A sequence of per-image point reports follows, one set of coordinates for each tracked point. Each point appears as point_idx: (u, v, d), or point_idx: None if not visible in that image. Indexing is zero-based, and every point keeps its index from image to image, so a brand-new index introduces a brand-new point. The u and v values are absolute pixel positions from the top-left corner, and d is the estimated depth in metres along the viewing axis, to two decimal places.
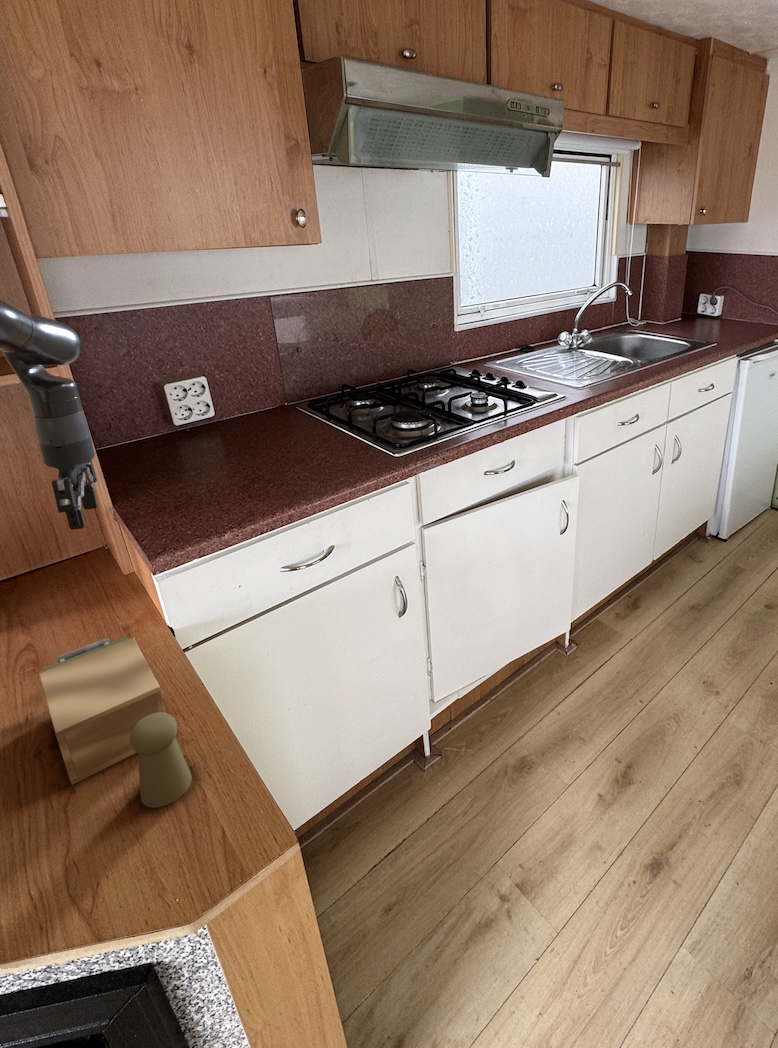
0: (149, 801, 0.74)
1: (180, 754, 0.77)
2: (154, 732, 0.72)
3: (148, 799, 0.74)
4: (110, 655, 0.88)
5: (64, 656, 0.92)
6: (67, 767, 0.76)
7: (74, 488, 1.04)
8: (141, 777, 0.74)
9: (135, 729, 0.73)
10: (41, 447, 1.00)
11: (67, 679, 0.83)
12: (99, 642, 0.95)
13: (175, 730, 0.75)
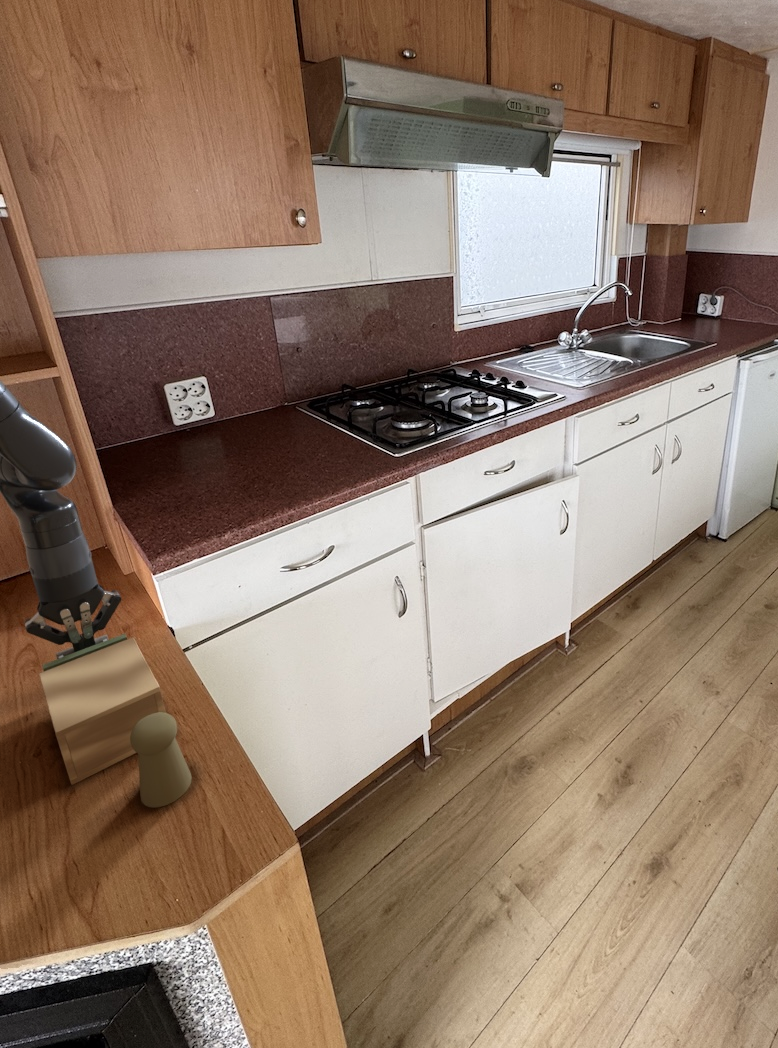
0: (149, 801, 0.74)
1: (180, 754, 0.77)
2: (154, 732, 0.72)
3: (148, 799, 0.74)
4: (110, 655, 0.88)
5: (63, 653, 0.93)
6: (67, 767, 0.76)
7: (54, 621, 0.89)
8: (141, 777, 0.74)
9: (135, 729, 0.73)
10: None
11: (67, 679, 0.83)
12: (98, 639, 0.96)
13: (175, 730, 0.75)
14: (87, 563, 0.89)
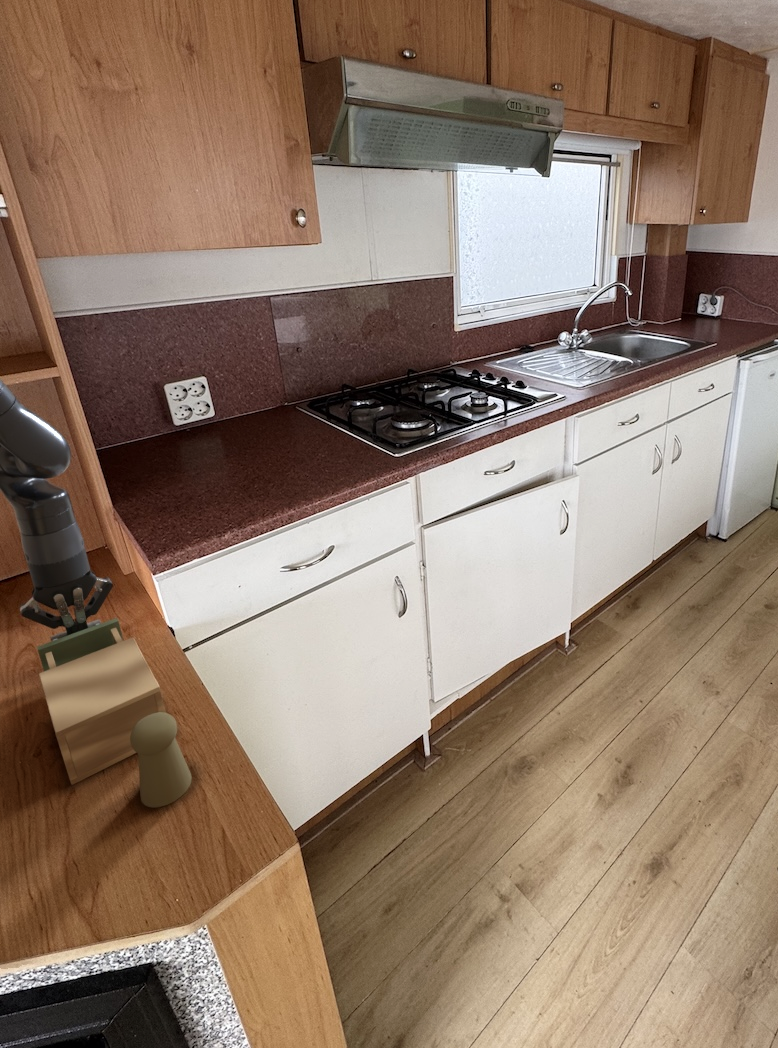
0: (149, 801, 0.74)
1: (180, 754, 0.77)
2: (154, 732, 0.72)
3: (148, 799, 0.74)
4: (110, 655, 0.88)
5: (57, 636, 0.97)
6: (67, 767, 0.76)
7: (48, 606, 0.93)
8: (141, 777, 0.74)
9: (135, 729, 0.73)
10: None
11: (67, 679, 0.83)
12: (91, 623, 1.00)
13: (175, 730, 0.75)
14: (80, 550, 0.92)
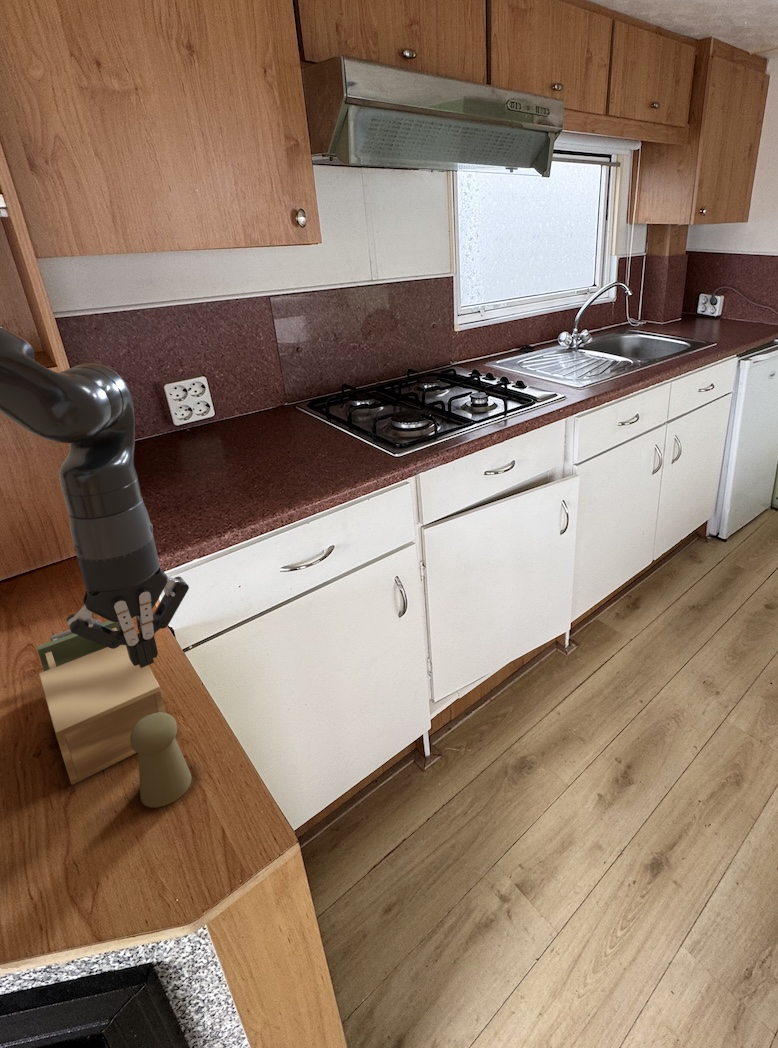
0: (149, 801, 0.74)
1: (180, 754, 0.77)
2: (154, 732, 0.72)
3: (148, 799, 0.74)
4: (110, 655, 0.88)
5: (57, 636, 0.97)
6: (67, 767, 0.76)
7: None
8: (141, 777, 0.74)
9: (135, 729, 0.73)
10: None
11: (67, 679, 0.83)
12: None
13: (175, 730, 0.75)
14: (149, 539, 0.67)
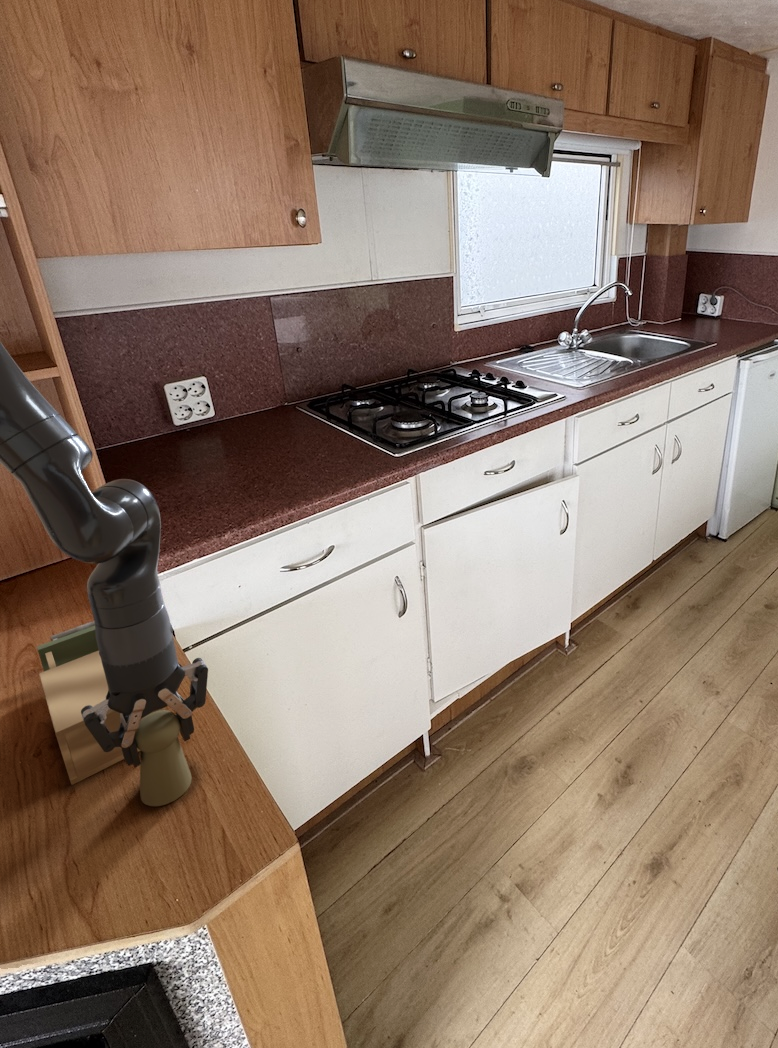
0: (149, 800, 0.74)
1: (182, 753, 0.77)
2: (158, 730, 0.73)
3: (148, 798, 0.74)
4: None
5: (57, 636, 0.97)
6: (67, 767, 0.76)
7: (126, 714, 0.71)
8: (142, 775, 0.74)
9: (139, 725, 0.73)
10: None
11: (67, 679, 0.83)
12: (91, 623, 1.00)
13: (178, 728, 0.75)
14: (169, 641, 0.70)
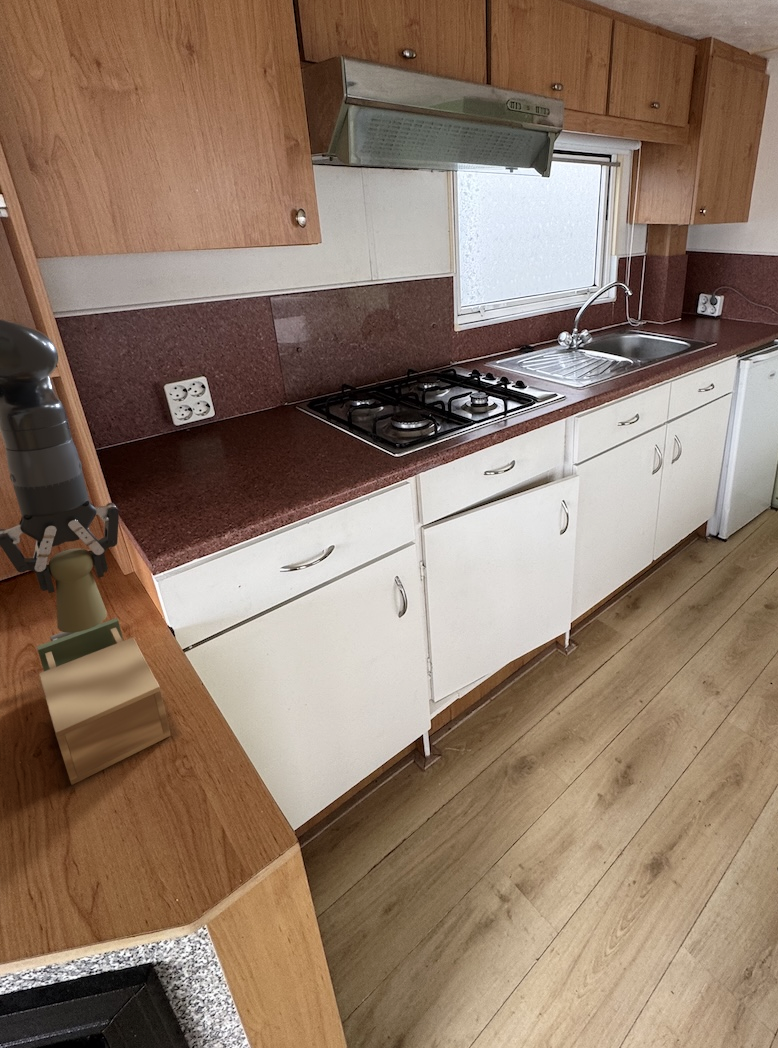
0: (64, 626, 0.82)
1: (96, 589, 0.84)
2: (70, 559, 0.80)
3: (63, 624, 0.82)
4: (110, 655, 0.88)
5: (57, 636, 0.97)
6: (67, 767, 0.76)
7: (38, 541, 0.78)
8: (57, 604, 0.82)
9: (54, 557, 0.81)
10: None
11: (67, 679, 0.83)
12: None
13: (91, 563, 0.83)
14: (77, 474, 0.78)
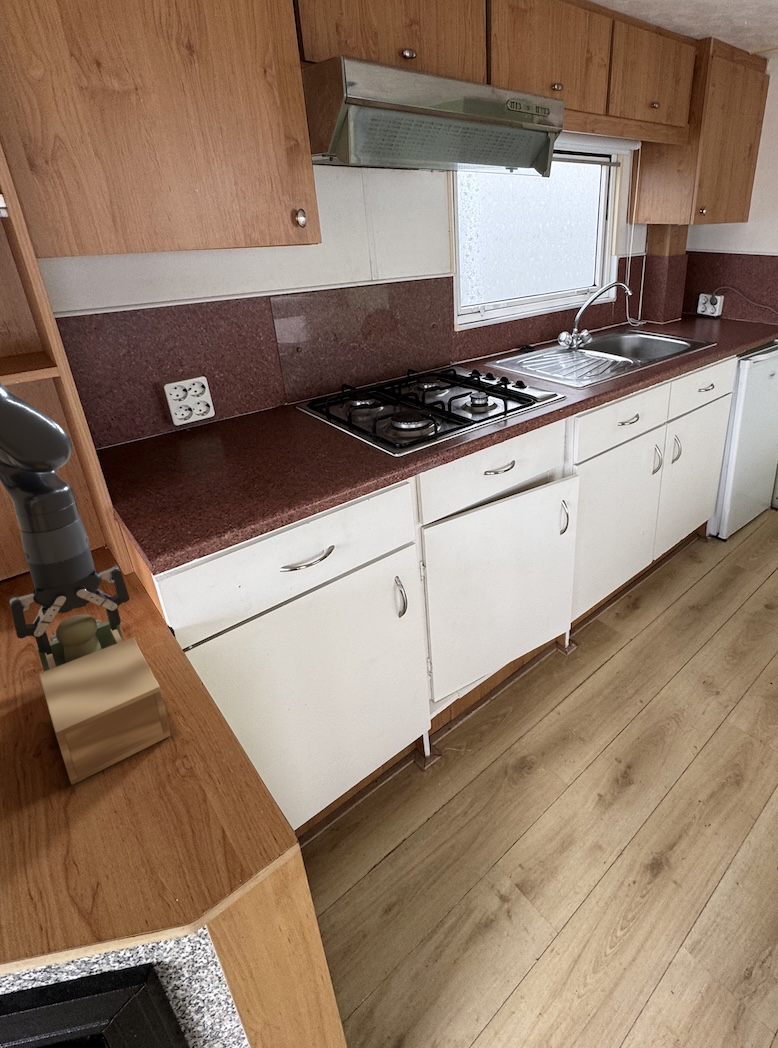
0: None
1: None
2: (75, 627, 0.88)
3: None
4: (110, 655, 0.88)
5: None
6: (67, 767, 0.76)
7: None
8: None
9: (60, 624, 0.89)
10: None
11: (67, 679, 0.83)
12: None
13: (94, 628, 0.90)
14: (84, 548, 0.86)
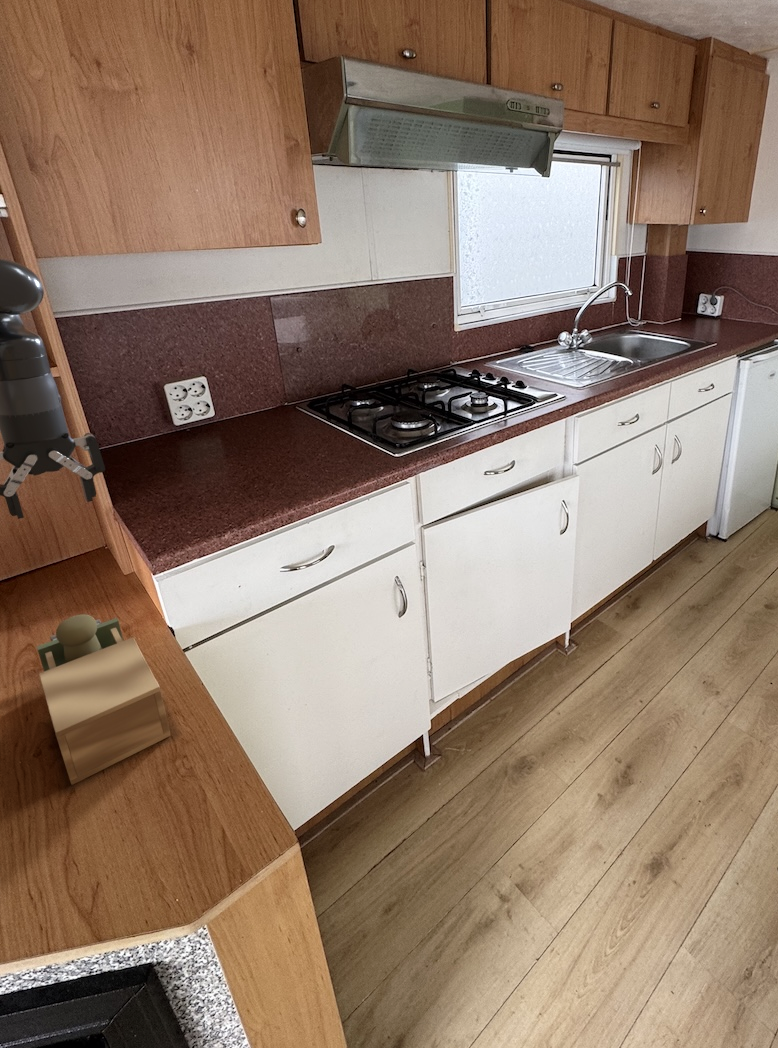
0: None
1: None
2: (75, 627, 0.88)
3: None
4: (110, 655, 0.88)
5: None
6: (67, 767, 0.76)
7: None
8: None
9: (60, 624, 0.89)
10: None
11: (67, 679, 0.83)
12: None
13: (94, 628, 0.90)
14: (56, 406, 0.83)
